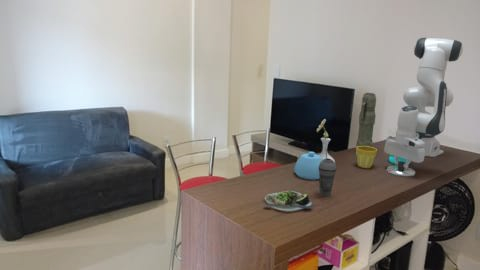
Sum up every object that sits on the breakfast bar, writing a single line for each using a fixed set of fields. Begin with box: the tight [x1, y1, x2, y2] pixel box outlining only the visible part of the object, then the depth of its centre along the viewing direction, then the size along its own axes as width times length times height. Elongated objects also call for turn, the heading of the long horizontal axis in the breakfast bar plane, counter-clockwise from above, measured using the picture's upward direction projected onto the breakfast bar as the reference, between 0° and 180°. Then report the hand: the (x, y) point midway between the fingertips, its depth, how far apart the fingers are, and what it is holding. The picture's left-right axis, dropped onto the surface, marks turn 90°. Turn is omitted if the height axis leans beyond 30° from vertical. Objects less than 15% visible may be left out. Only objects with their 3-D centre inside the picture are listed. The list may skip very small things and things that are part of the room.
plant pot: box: [355, 146, 378, 169], centre depth 189 cm, size 10×10×10 cm
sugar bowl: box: [293, 151, 322, 181], centre depth 174 cm, size 15×15×12 cm
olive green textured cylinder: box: [355, 92, 377, 148], centre depth 212 cm, size 9×12×35 cm
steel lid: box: [386, 161, 416, 178], centre depth 182 cm, size 13×13×5 cm
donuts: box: [388, 155, 407, 164], centre depth 197 cm, size 10×10×10 cm
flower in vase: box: [316, 118, 336, 163], centre depth 188 cm, size 13×11×25 cm
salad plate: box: [264, 190, 314, 213], centre depth 142 cm, size 19×18×5 cm
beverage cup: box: [318, 147, 337, 197], centre depth 151 cm, size 7×7×20 cm
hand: (401, 166), depth 182 cm, fingers closed on steel lid, 3 cm apart
